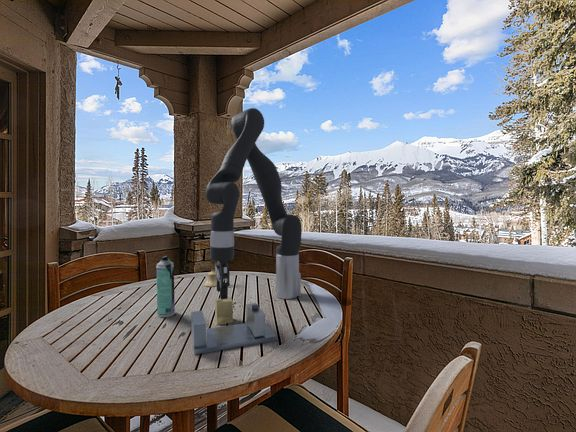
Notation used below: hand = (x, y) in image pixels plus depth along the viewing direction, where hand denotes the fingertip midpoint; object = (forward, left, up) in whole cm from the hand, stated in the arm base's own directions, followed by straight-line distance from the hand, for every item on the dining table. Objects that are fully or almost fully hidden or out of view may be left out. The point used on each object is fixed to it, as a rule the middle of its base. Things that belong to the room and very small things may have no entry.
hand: (221, 294), depth 98 cm
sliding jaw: (-8, +13, -7) cm, 17 cm away
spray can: (+17, -13, -9) cm, 23 cm away
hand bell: (-3, -45, -9) cm, 46 cm away
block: (-1, 0, -9) cm, 9 cm away
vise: (-1, +13, -9) cm, 16 cm away
